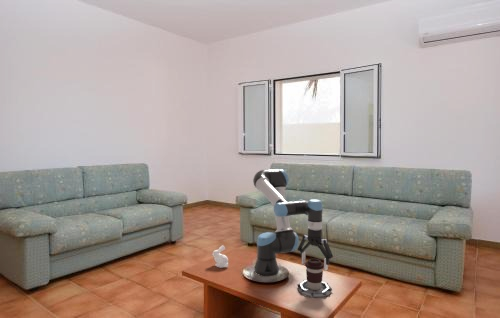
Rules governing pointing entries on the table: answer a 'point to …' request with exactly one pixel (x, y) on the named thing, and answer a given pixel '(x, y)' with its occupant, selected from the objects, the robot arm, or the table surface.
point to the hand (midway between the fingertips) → (314, 267)
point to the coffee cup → (314, 273)
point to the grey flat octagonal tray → (319, 293)
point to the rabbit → (220, 258)
